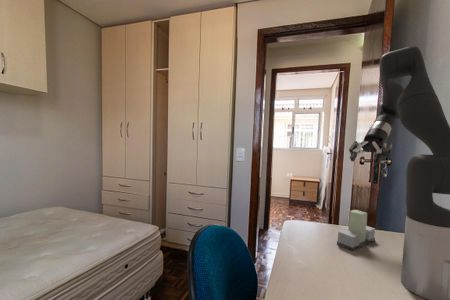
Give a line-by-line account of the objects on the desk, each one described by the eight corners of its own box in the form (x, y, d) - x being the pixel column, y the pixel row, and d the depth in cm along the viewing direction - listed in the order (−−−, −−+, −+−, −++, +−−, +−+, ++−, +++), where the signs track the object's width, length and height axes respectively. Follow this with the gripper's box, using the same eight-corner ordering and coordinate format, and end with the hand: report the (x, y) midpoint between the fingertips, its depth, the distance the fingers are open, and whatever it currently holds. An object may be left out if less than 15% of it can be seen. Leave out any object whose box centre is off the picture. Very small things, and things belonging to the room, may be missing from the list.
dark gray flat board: (374, 240, 81) (375, 238, 81) (353, 251, 72) (353, 248, 72) (358, 235, 85) (359, 232, 85) (336, 244, 76) (336, 241, 76)
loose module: (365, 240, 78) (367, 212, 78) (359, 242, 76) (361, 214, 75) (353, 236, 81) (355, 209, 81) (347, 238, 79) (349, 211, 79)
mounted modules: (374, 237, 81) (375, 228, 81) (352, 247, 72) (353, 237, 72) (359, 232, 85) (360, 223, 85) (337, 241, 76) (338, 231, 76)
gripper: (357, 127, 97) (341, 153, 91) (396, 126, 85) (381, 156, 80) (362, 140, 100) (347, 165, 94) (400, 141, 89) (386, 170, 83)
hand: (362, 161), depth 87 cm, fingers open, 8 cm apart
